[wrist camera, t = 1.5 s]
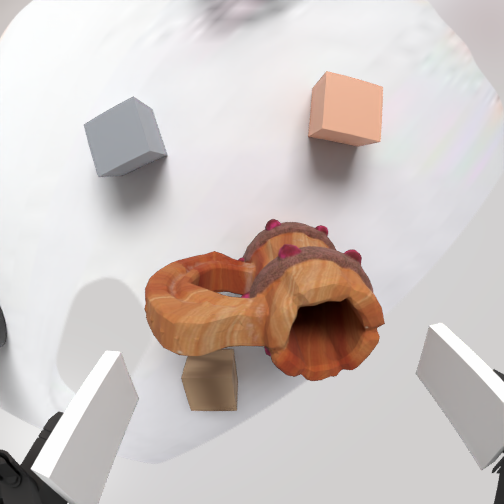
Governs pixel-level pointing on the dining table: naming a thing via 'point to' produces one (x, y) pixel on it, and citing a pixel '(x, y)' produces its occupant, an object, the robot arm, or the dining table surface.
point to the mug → (271, 302)
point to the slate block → (124, 138)
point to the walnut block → (211, 381)
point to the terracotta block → (346, 110)
